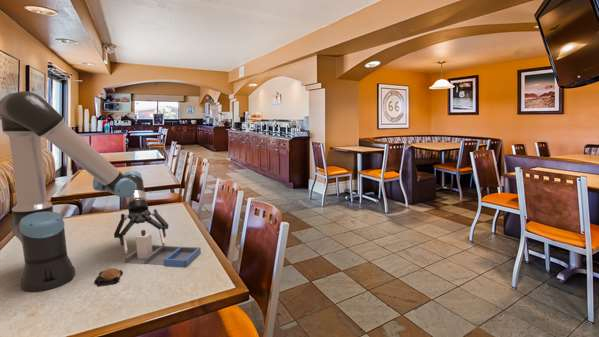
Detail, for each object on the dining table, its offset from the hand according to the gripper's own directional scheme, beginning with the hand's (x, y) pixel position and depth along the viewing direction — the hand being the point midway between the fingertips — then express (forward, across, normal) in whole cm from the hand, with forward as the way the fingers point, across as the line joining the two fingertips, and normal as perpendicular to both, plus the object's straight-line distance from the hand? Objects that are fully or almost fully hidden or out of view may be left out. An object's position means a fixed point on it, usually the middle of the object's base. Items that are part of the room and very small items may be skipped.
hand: (145, 248), depth 131 cm
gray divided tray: (+6, -6, -1) cm, 8 cm away
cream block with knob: (+2, 0, -5) cm, 5 cm away
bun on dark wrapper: (+11, +14, +3) cm, 18 cm away
